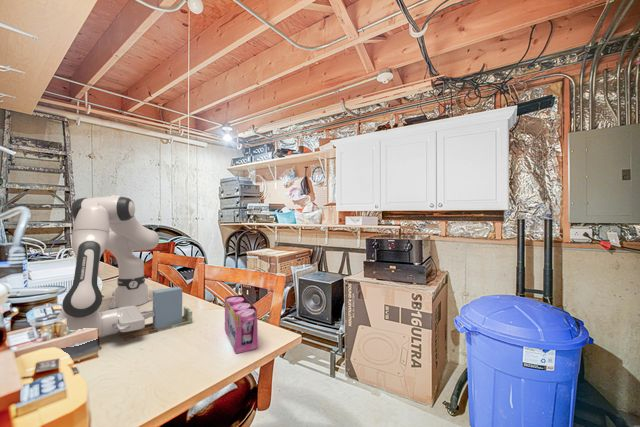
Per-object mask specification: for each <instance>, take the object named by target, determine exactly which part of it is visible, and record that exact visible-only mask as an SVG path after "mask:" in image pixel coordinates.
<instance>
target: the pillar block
mask: <svg viewBox="0 0 640 427" xmlns="http://www.w3.org/2000/svg"><path fill="white" fill-rule="evenodd" d="M152 310H153V311H154V313H155V316H154V317H152V323H153V328H154V329H158V330H160V329H164V328H168V327H171V325H174V324H178V323H182V316H183V288H182V287H181V286H173V287H169V288H168V287H167V288H161V289H155V290H152Z"/></svg>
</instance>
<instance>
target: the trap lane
mask: <svg viewBox="0 0 640 427" xmlns="http://www.w3.org/2000/svg"><path fill="white" fill-rule="evenodd" d="M191 324H193V311H192V310H191V309H190V308H188V307H187V306H183V315H182V323H178V324H174V325H171V327H168V328H164V329H160V330H158V329H154V328H153V322H150V323H145V327H144V328H142V329H139V330H134V331H128V332H120V334H121V337H122V340H123V341H128V340H131V339H136V338H140V337H144V336H148V335H151V334H156V333H160V332H164V331H168V330H171V329H175V328H178V327H179V328H180V327H183V326H188V325H191Z"/></svg>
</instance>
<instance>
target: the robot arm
mask: <svg viewBox="0 0 640 427" xmlns="http://www.w3.org/2000/svg"><path fill="white" fill-rule="evenodd" d="M135 211H136V207H135V203H134V201H133V199H131V198H129V197H125V196H121V195H118V194H112V195H111V194H110V195H108V196H95V197H89V198H88V197H82V198H77V199H75V201H73V202H72V204H71V207H70V213H71V216H72V218H73V219H74V223H73V227H72V232H71V246H72V251H73V253H74V256H75V270H74V276H73V281H72V286H71V287H70V289H69V290H68V291H67V293H66V295H65V296H64V298H63V299H62V308H61V310H60V311H59V313H58V315H57V317H56V318H67V327H68V329H69V330H78V329H83V328H98V329H99V337H98V338H102V337H107V336H112V335H115V334H118V332H120V333H121V332H128V331H134V330H139V329H142V328H144V327H145V324H146V320H148V319H149V318H153V317H154V316H155V313H154V311H153V309H152V310H141V311H140V309H139V307H138V306H141V305H143V304H146V303H147V302H150V301H153V297H151V296H149V285H148V284H147V283H145V282H146V276H145V262H144V260H143V259H141V258H140V257H137V256H136V255H134V254H133V251H135V252H136V251H138V252H139V251H148V250H153V249H155V248H157V247H158V245H159V242H160V236H159V234H158V233H157V232H156V231H155V230H152V229H149V228H147V226H144V225H142V223H140V222H139V221H138V220H137V218H136V216H135V213H136V212H135ZM110 230H111V231H110ZM106 250H107V251H108V252H110V253H111V254H112V256H114V258H115V260H116V262H117V268H118V278H117V281H116V283H117V287H116V288H115V289H114V291H112V293H111V296H112V297H113V298H112V300H111V302H109V305H108V308H107V309H106V310H103V311H98V309H100V307H101V305H102V302H103V295H102V292H101V290H100V286H99V285H98V277H99V275H98V274H99V267H100V260H101V257H102V256H103V254H104V252H105V251H106Z"/></svg>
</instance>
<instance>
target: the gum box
mask: <svg viewBox="0 0 640 427" xmlns="http://www.w3.org/2000/svg"><path fill="white" fill-rule="evenodd" d="M224 330H225V333H226V335H227V338H228V341H229V343H230V344H231V347H232V349H233V350H234V353H235V354H240V353H245V352H249V351H253V350H258V348H259V346H258V342H259V341H258V340H259V338H258V337H259V336H258V330H259V329H258V309H257V307H256V306H255V305H253V304H252V302H251V301H250V300H248V298H247V297H246V296H245V295H244V294H237V295H231V296H230V295H229V296H225V297H224Z"/></svg>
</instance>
